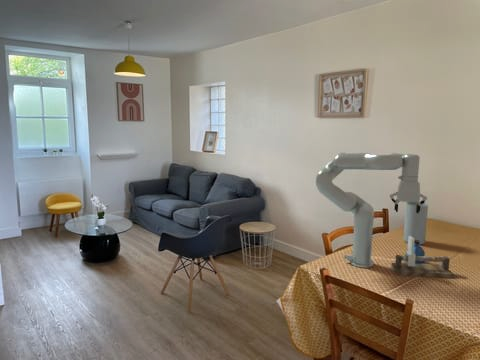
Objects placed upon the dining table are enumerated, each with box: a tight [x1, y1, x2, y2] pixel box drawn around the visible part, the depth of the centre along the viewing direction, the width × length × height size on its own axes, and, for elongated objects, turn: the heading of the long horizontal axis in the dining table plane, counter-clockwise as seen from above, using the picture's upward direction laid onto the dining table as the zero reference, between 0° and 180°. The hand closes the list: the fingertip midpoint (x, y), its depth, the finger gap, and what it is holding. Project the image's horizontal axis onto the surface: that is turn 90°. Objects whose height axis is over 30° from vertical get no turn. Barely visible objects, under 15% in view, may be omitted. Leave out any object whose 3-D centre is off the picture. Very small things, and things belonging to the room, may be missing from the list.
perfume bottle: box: [406, 240, 426, 264], centre depth 195 cm, size 6×6×12 cm
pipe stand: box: [390, 254, 455, 279], centre depth 182 cm, size 26×12×8 cm, turn 84°
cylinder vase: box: [403, 202, 429, 246], centre depth 227 cm, size 12×12×25 cm
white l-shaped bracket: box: [403, 236, 416, 266], centre depth 182 cm, size 3×6×14 cm, turn 174°
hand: (406, 212), depth 181 cm, fingers open, 9 cm apart
